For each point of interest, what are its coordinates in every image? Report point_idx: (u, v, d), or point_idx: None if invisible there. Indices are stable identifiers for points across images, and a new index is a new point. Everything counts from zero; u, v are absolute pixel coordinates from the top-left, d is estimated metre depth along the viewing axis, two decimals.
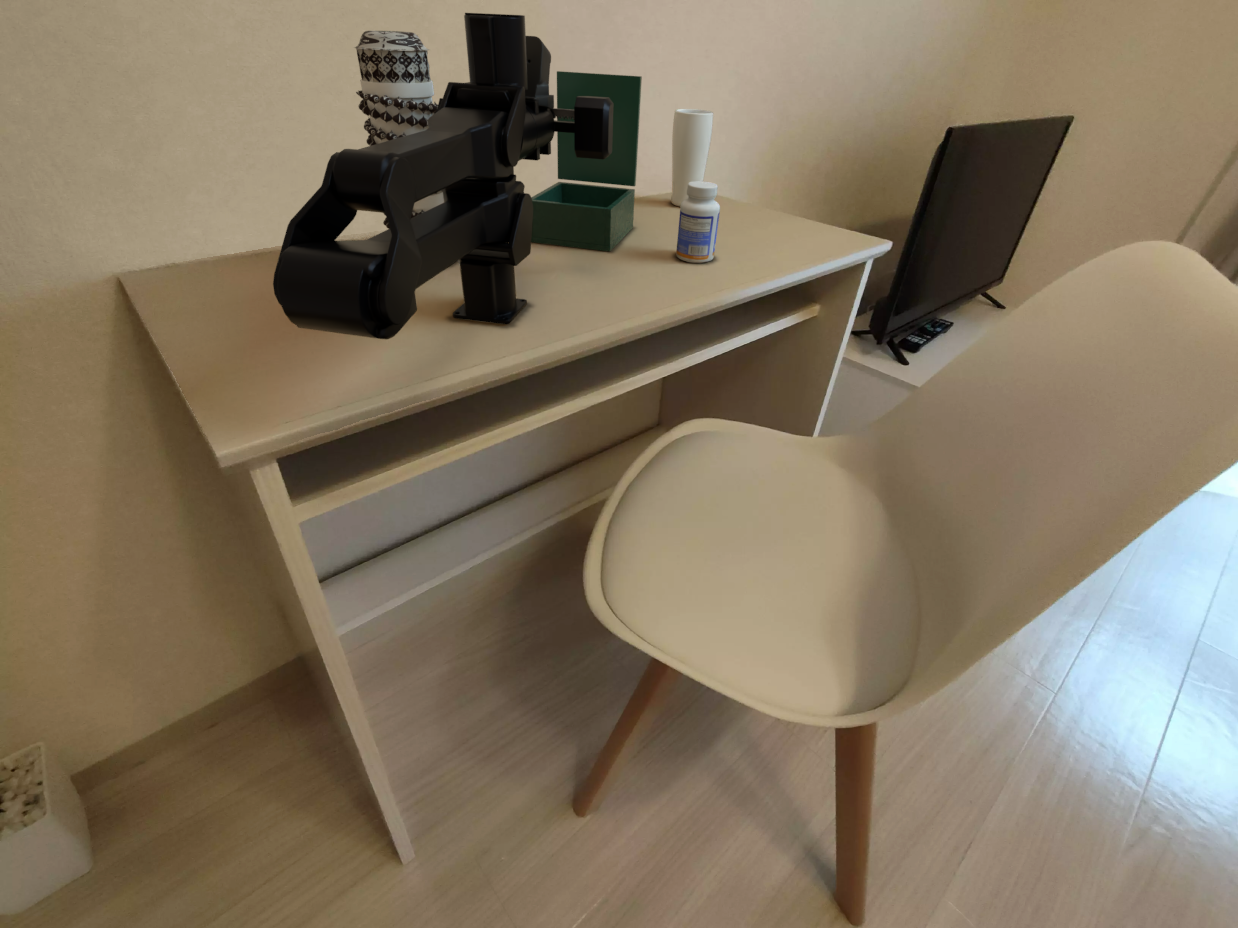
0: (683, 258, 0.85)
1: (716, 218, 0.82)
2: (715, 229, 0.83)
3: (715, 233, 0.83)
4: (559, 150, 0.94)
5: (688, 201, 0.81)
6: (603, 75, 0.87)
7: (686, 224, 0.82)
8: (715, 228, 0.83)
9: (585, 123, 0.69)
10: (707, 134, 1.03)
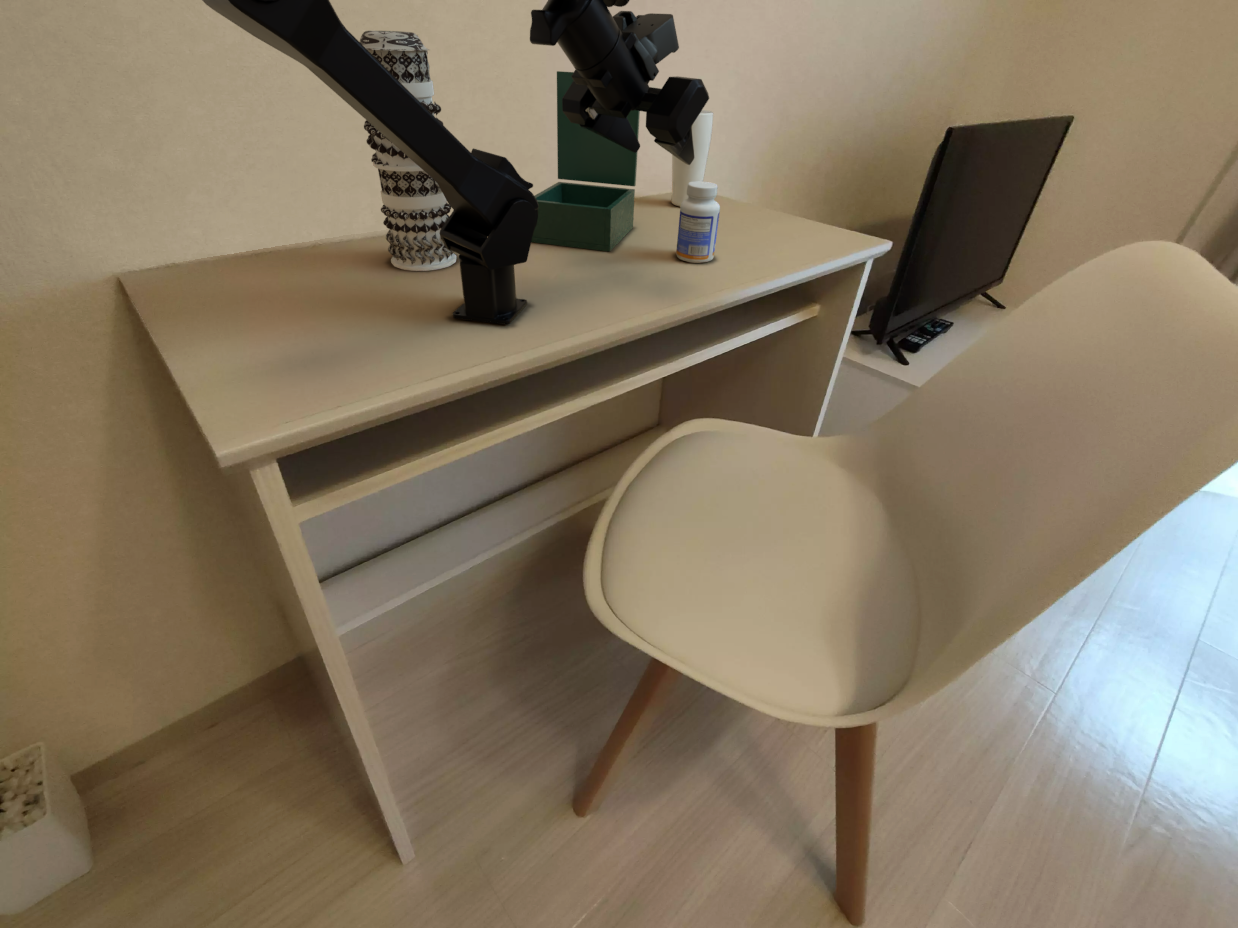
0: (683, 258, 0.85)
1: (716, 218, 0.82)
2: (715, 229, 0.83)
3: (715, 233, 0.83)
4: (559, 150, 0.94)
5: (688, 201, 0.81)
6: None
7: (686, 224, 0.82)
8: (715, 228, 0.83)
9: (670, 91, 0.62)
10: (707, 134, 1.03)
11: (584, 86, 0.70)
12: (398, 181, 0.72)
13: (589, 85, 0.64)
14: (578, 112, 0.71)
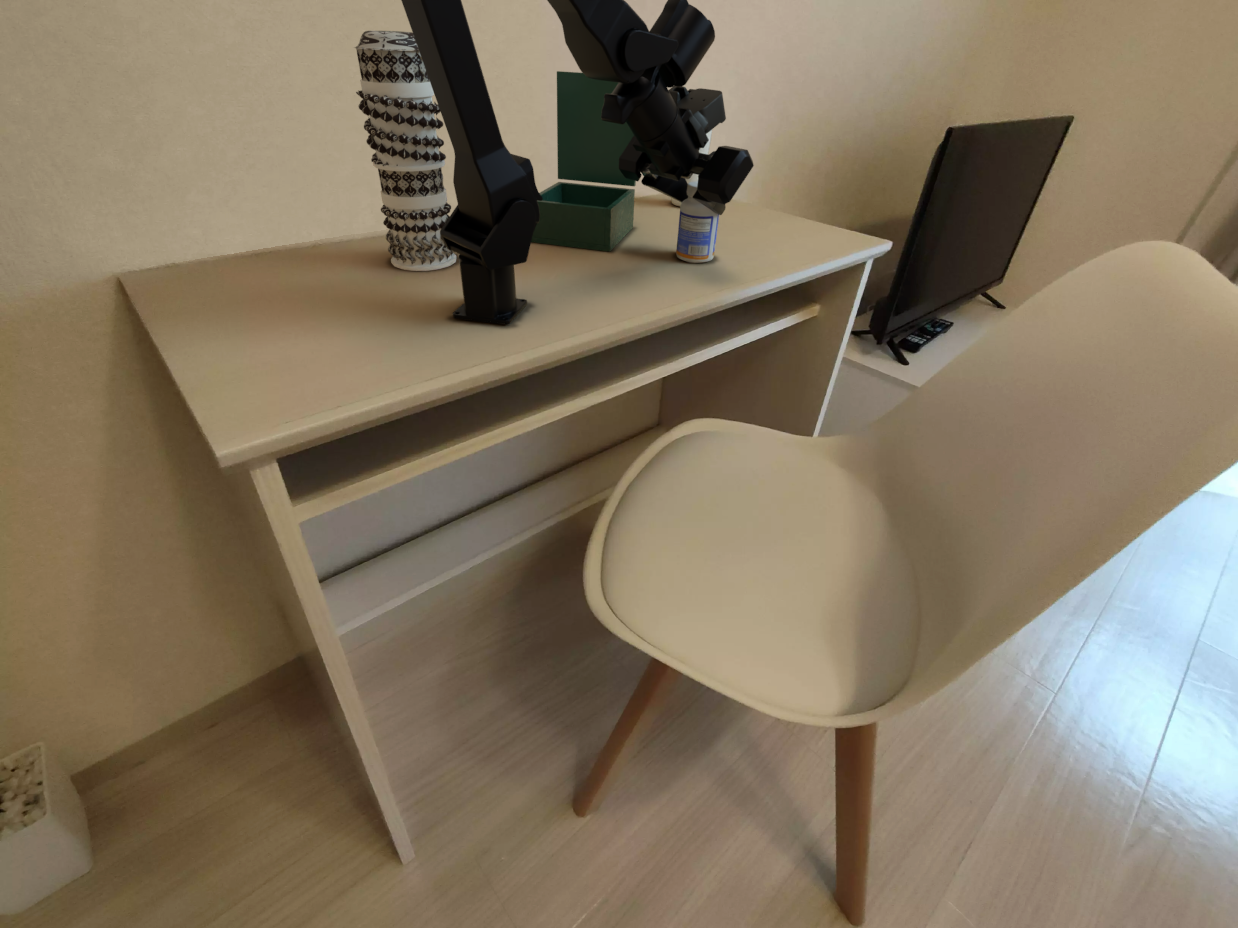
0: (683, 258, 0.85)
1: (716, 218, 0.82)
2: (715, 229, 0.83)
3: (715, 233, 0.83)
4: (559, 150, 0.94)
5: (688, 201, 0.81)
6: None
7: (686, 224, 0.82)
8: (715, 228, 0.83)
9: (719, 159, 0.71)
10: (707, 134, 1.03)
11: None
12: (398, 181, 0.72)
13: (648, 153, 0.73)
14: (633, 171, 0.80)
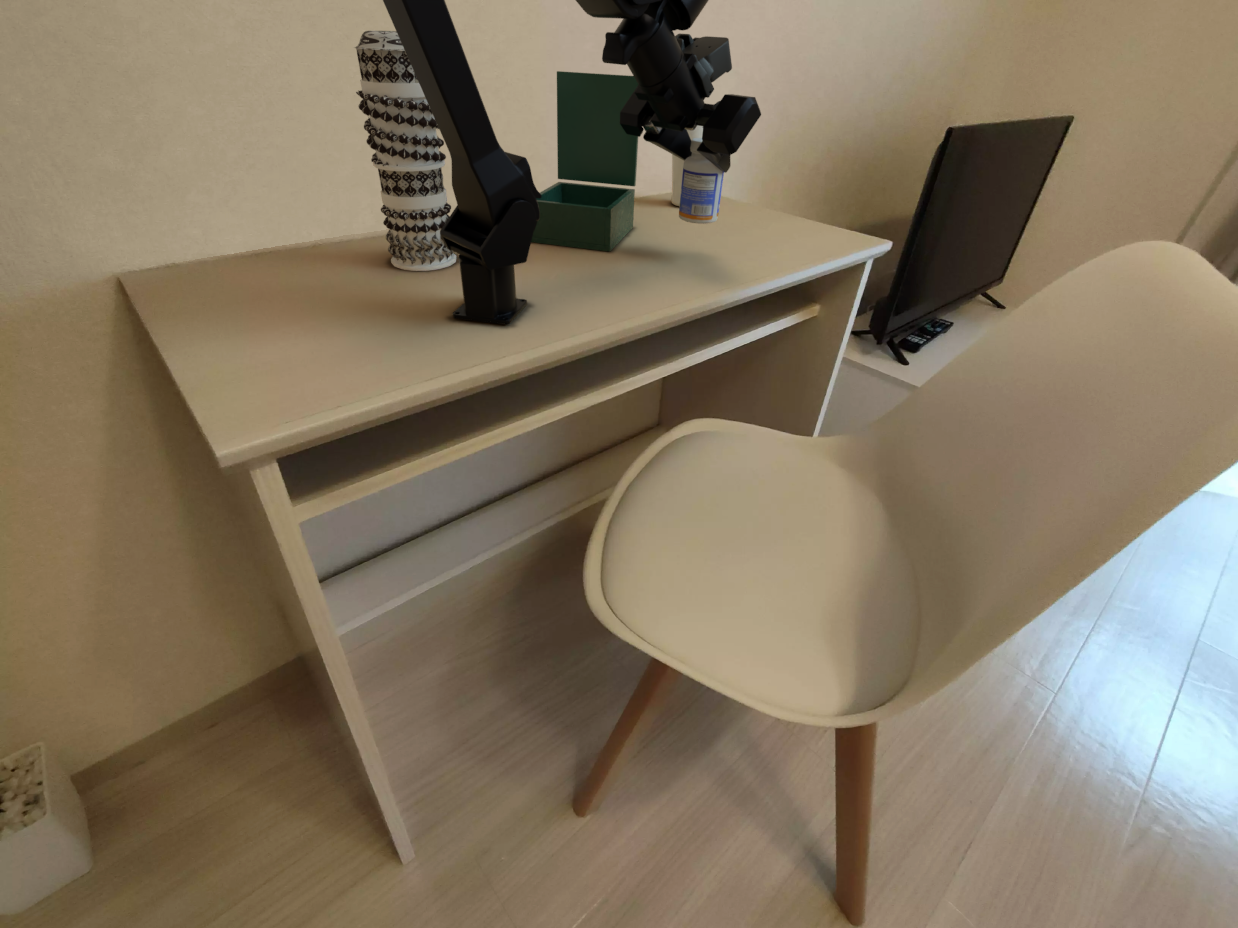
0: (686, 219, 0.82)
1: (720, 176, 0.79)
2: (719, 188, 0.80)
3: (719, 192, 0.80)
4: (559, 150, 0.94)
5: (692, 158, 0.78)
6: (603, 75, 0.87)
7: (689, 181, 0.79)
8: (719, 187, 0.80)
9: (726, 107, 0.68)
10: None
11: (642, 101, 0.76)
12: (398, 181, 0.72)
13: (651, 101, 0.69)
14: (635, 125, 0.76)
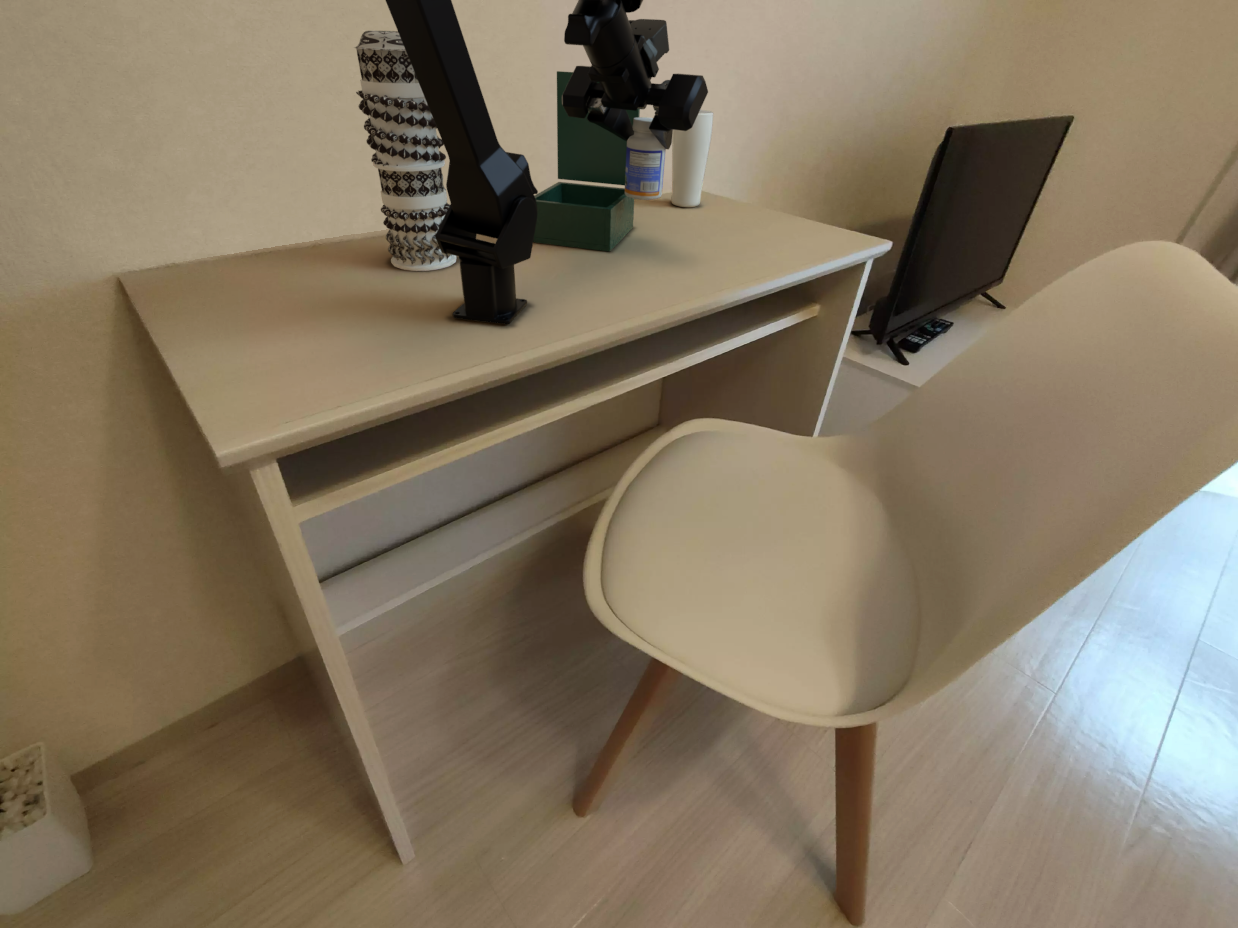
0: (635, 196, 0.85)
1: (664, 153, 0.83)
2: (663, 164, 0.84)
3: (663, 169, 0.85)
4: (559, 150, 0.94)
5: (636, 137, 0.82)
6: None
7: (637, 160, 0.82)
8: (663, 163, 0.84)
9: (677, 85, 0.73)
10: (707, 134, 1.03)
11: (584, 83, 0.78)
12: (398, 181, 0.72)
13: (606, 81, 0.72)
14: (581, 106, 0.78)
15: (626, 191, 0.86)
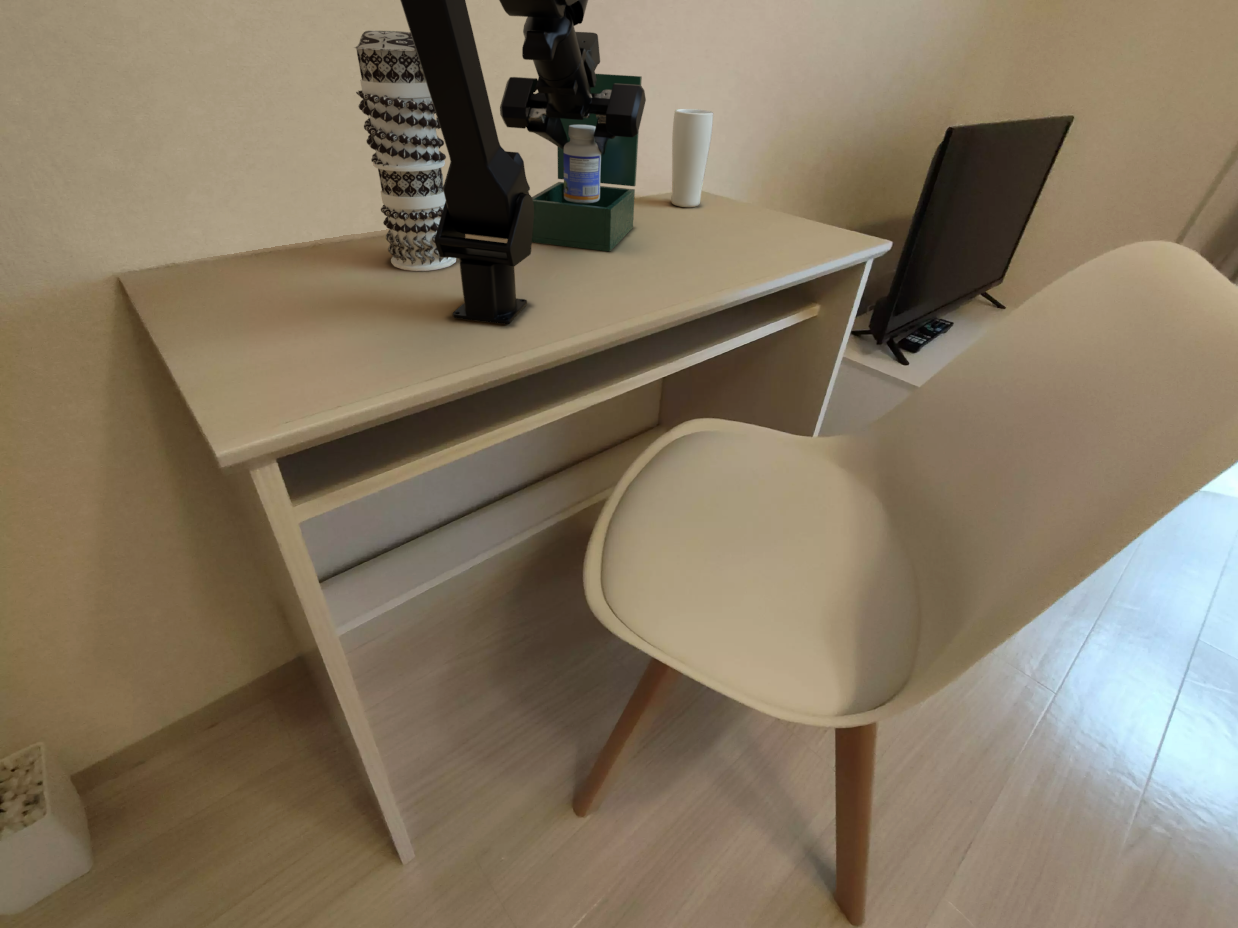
0: (578, 200, 0.89)
1: (600, 158, 0.87)
2: (600, 168, 0.88)
3: None
4: (559, 150, 0.94)
5: (574, 144, 0.85)
6: (603, 75, 0.87)
7: (577, 166, 0.86)
8: (600, 168, 0.88)
9: (620, 95, 0.77)
10: (707, 134, 1.03)
11: (523, 94, 0.80)
12: (398, 181, 0.72)
13: (555, 93, 0.74)
14: (523, 117, 0.80)
15: (567, 196, 0.89)
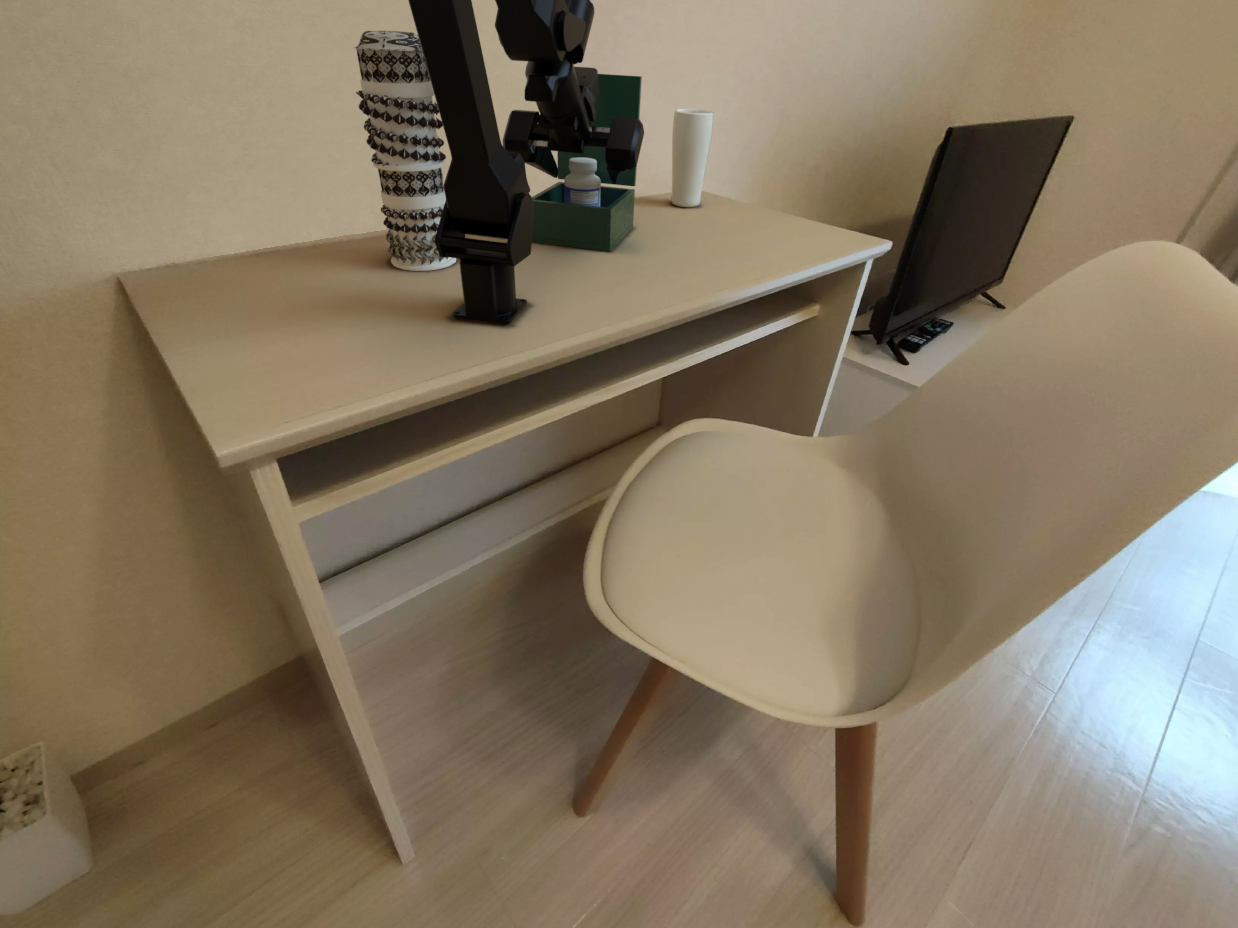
0: None
1: (600, 189, 0.90)
2: None
3: None
4: None
5: (574, 177, 0.88)
6: (603, 75, 0.87)
7: (578, 198, 0.88)
8: None
9: (619, 129, 0.80)
10: (707, 134, 1.03)
11: (525, 127, 0.82)
12: (398, 181, 0.72)
13: (556, 129, 0.77)
14: (525, 150, 0.82)
15: None
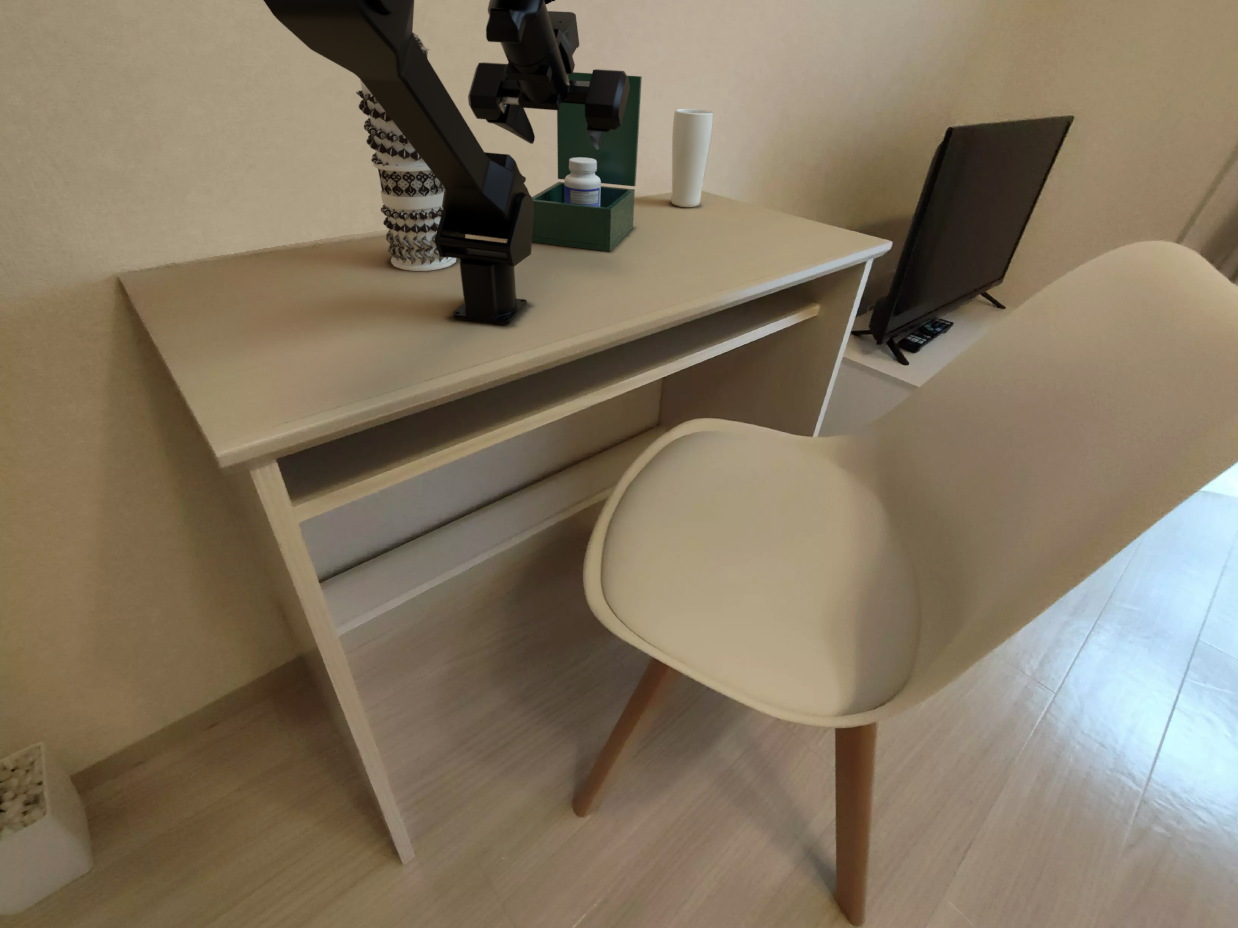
0: None
1: (600, 189, 0.90)
2: None
3: None
4: (559, 150, 0.94)
5: (574, 177, 0.88)
6: None
7: (578, 198, 0.88)
8: None
9: (601, 82, 0.69)
10: (707, 134, 1.03)
11: (493, 82, 0.71)
12: (398, 181, 0.72)
13: (527, 80, 0.66)
14: (494, 107, 0.72)
15: None
